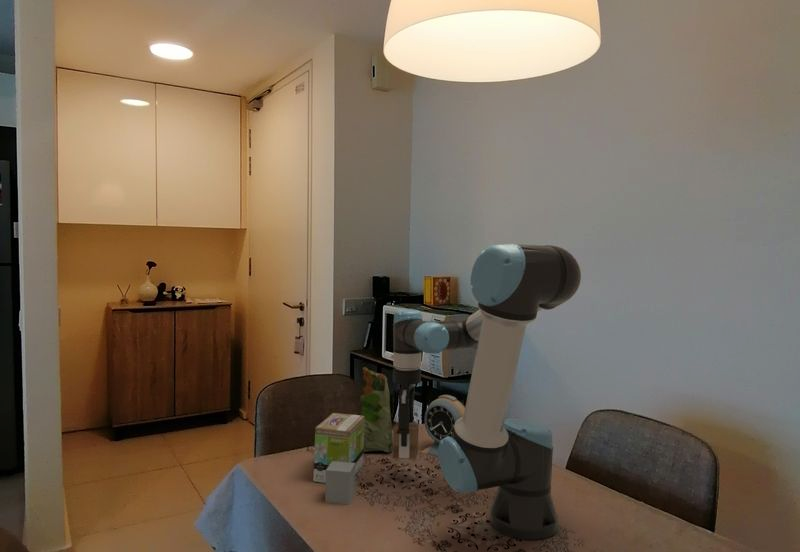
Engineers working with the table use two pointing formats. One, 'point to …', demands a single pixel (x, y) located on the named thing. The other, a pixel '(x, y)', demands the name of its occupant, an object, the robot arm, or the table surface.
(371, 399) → the pouch
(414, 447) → the walnut block
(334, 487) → the grey block
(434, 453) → the alarm clock
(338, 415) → the tea box
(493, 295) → the robot arm
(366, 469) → the table surface
